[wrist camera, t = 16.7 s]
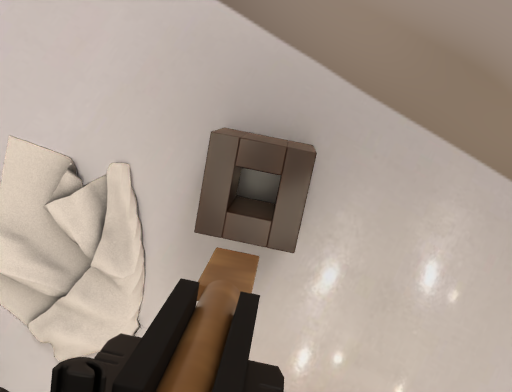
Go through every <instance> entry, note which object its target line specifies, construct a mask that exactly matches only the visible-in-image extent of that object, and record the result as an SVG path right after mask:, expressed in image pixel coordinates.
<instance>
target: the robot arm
mask: <svg viewBox="0 0 512 392" xmlns="http://www.w3.org/2000/svg"><path fill="white" fill-rule="evenodd" d="M199 284H200V282H195V281H190V280H186V279H180V280H179V282H178V283H177V285H176V287H175V288H174V290H173V291H172V293H171V294H170V296H169V297H168V299H167V300H166V302H165V303H164V305H163V307H162V308H161V310H160V311H159V313H158V314H157V316H156V317H155V319H154V320H153V322H152V323H151V325H150V327H149V328H148V330H147V331H146V333H145V334H144V336H143V337H142V338H140V337H136V336H131V335H127V334H122V333H121V334H119V335H117V336H115V337H113V338H112V339H110V340H108V341H107V343H106V344H105V345H104V346H103V348H102V349H101V351H100V352H99V353H98V354H97V355H96V357H95V358H94V359H92V358H87V357H77V358H71V359H67V360H65V361H63V362H60V363H59V364H58V365H56V366H55V367H54V368H53V370H52V380H51V391H50V392H155V391H156V389H157V387H158V385H159V382H160V380H161V378H162V376H163V374H164V372H165V370H166V368H167V366H168V364H169V362H170V360H171V358H172V356H173V353H174V351H175V349H176V347H177V345H178V343H179V341H180V339H181V337H182V335H183V333H184V331H185V329H186V326H187V324H188V322H189V320H190V318H191V316H192V314H193V312H194V310H195V307H196V301H197V296H198V290H199ZM259 298H260V295H256V294H252V293H247V292H242V291H241V292H240V296H239V299H238V303H237V306H236V310H235V313H234V316H233V320H232V323H231V327H230V330H229V334H228V337H227V341H226V344H225V348H224V351H223V355H222V358H221V362H220V365H219V369H218V372H217V376H216V379H215V383H214V386H213V389H212V392H284V391H283V390H284V377H283V375H282V373H281V371H280V369H279V367H278V366H273V365H269V364H264V363H259V362H255V361H250V360H248V359H249V353H250V348H251V342H252V337H253V331H254V326H255V320H256V314H257V309H258V303H259ZM0 392H9V391H7V390H6V389H4V388H1V387H0Z"/></svg>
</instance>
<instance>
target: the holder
mask: <svg viewBox="0 0 512 392" xmlns="http://www.w3.org/2000/svg"><path fill="white" fill-rule="evenodd" d="M315 158H316V151H315V149H314V147H313V145H309V144H304V143H299V142H294V141H288V140H284V139H279V138H274V137H269V136H264V135H259V134H254V133H248V132H244V131H239V130H234V129H229V128H221V129H218V130H215V131H212V132H211V135H210V141H209V147H208V153H207V159H206V165H205V171H204V177H203V183H202V189H201V195H200V201H199V207H198V213H197V219H196V225H195V231H194V232H195V233H200V234H205V235H210V236H214V237H219V238H224V239H229V240H234V241H239V242H243V243H248V244H253V245H257V246H262V247H267V248H272V249H276V250H281V251H286V252H290V253H294V252H295V248H296V243H297V239H298V234H299V230H300V225H301V221H302V216H303V212H304V207H305V203H306V198H307V194H308V189H309V185H310V180H311V176H312V171H313V167H314V162H315ZM241 168H247V169H252V170H257V171H262V172H267V173H272V174H277V175H281V179H280V184H279V189H278V194H277V198H276V203H275V204H273V203H268V202H263V201H258V200H254V199H249V198H244V197H239V196H236V195H237V190H238V184H239V179H240V173H241Z"/></svg>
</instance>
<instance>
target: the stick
mask: <svg viewBox="0 0 512 392" xmlns="http://www.w3.org/2000/svg"><path fill="white" fill-rule="evenodd" d="M258 262H259V256H256V255H251V254H246V253H242V252H237V251H232V250H227V249H222V248H218V247H217V248H216V249H215V251H214V253H213V255H212V256H211V258H210V260H209V262H208V264H207V266H206V268H205V269H204V271H203V273H202V275H201V277H200V279H199V281H198V282H200V284H199V290H198V296H197V301H198V303H197V305H196V308H195V310H194V312H193V314H192V316H191V318H190V320H189V322H188V324H187V326H186V329H185V331H184V333H183V335H182V337H181V339H180V341H179V343H178V345H177V347H176V349H175V351H174V353H173V356H172V358H171V360H170V362H169V364H168V366H167V368H166V370H165V372H164V374H163V376H162V378H161V380H160V382H159V385H158V387H157V389H156V391H155V392H212V389H213V386H214V383H215V379H216V376H217V372H218V369H219V365H220V362H221V358H222V355H223V351H224V348H225V344H226V341H227V337H228V334H229V330H230V327H231V323H232V320H233V316H234V313H235V310H236V306H237V303H238V299H239V296H240V292H241V291H242V292H247V293H252V289H253V285H254V280H255V276H256V271H257V267H258Z"/></svg>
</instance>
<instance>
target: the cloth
mask: <svg viewBox="0 0 512 392" xmlns="http://www.w3.org/2000/svg"><path fill="white" fill-rule="evenodd" d="M143 264H144V248H143V245H142V227H141V223H140V220H139V217H138V213H137V201H136V197H135V194H134V191H133V189H132V187H131V180H130V169H129V164H124V163H111V164H110V166H109V167H108V169H107V175H105V176H103V177H100V178H98V179H96V180H94V181H92V182H91V183H89V184H88V185H86V186H84V187H83V183H82V179H80V178H79V177H77V176H76V168H75V166H74V164H73V161H72V159H71V158H69V157H67V156H65V155H62V154H59V153H57V152H54V151H52V150H49V149H46V148H43V147H40V146H38V145H35V144H32V143H29V142H27V141H24V140H20V139H17V138H15V137H12V136H9V139H8V145H7V149H6V155H5V161H4V167H3V173H2V178H1V184H0V304H1V305H3V306H4V307H5V308H6V309H7V310H9V311H10V312H11V313H12V314H14V315H15V316H16V317H17V318H19V319H20V320H21V321H22V322H23V323H24V324H26V325H27V326H28V328H29V329H30V331H31V332H32V334H33V335H34V337H35V338H36V339H37V340H38V341H39V342H41V343H48V342H50V343H51V345H52V346H53V348H54V357H55V358H56V359H58V360H59V361H62V360H65V359H69V358H73V357H82V356H85V355H88V354H92V353H95V352H99V351H101V349H102V348H103V346H104V345H105V344H106V343H107V341H108V340H110V339H112V338H113V337H115V336H117V335H119V334H121V333H122V334H127V335H131V336H134V334H135V333H136V332H137V330H138V329H139V327H140V326H139V324H138V322H137V317H138V314H139V310H140V304H141V302H142V298H143V290H144V279H145V267H144V265H143Z"/></svg>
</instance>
